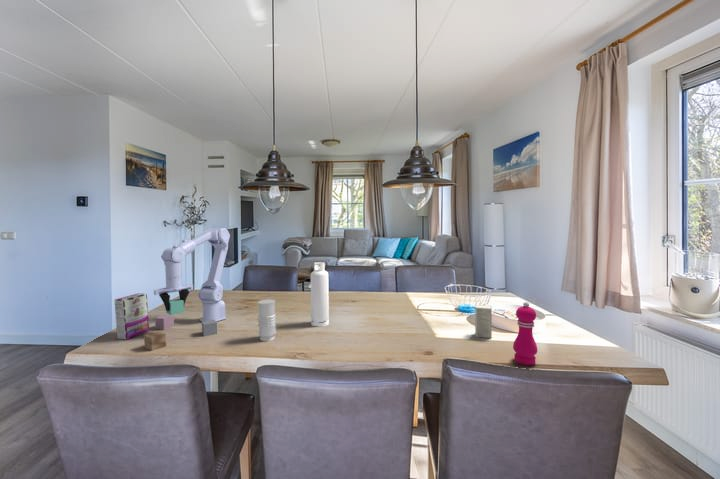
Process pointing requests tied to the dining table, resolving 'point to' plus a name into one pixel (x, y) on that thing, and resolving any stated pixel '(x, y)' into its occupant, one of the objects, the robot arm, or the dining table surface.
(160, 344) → the walnut block
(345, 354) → the dining table surface
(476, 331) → the skincare box
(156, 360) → the dining table surface
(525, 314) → the pepper mill
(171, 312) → the teal block
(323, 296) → the bottle
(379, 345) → the dining table surface
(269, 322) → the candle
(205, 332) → the charcoal block
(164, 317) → the plum block
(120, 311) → the candy bar box
